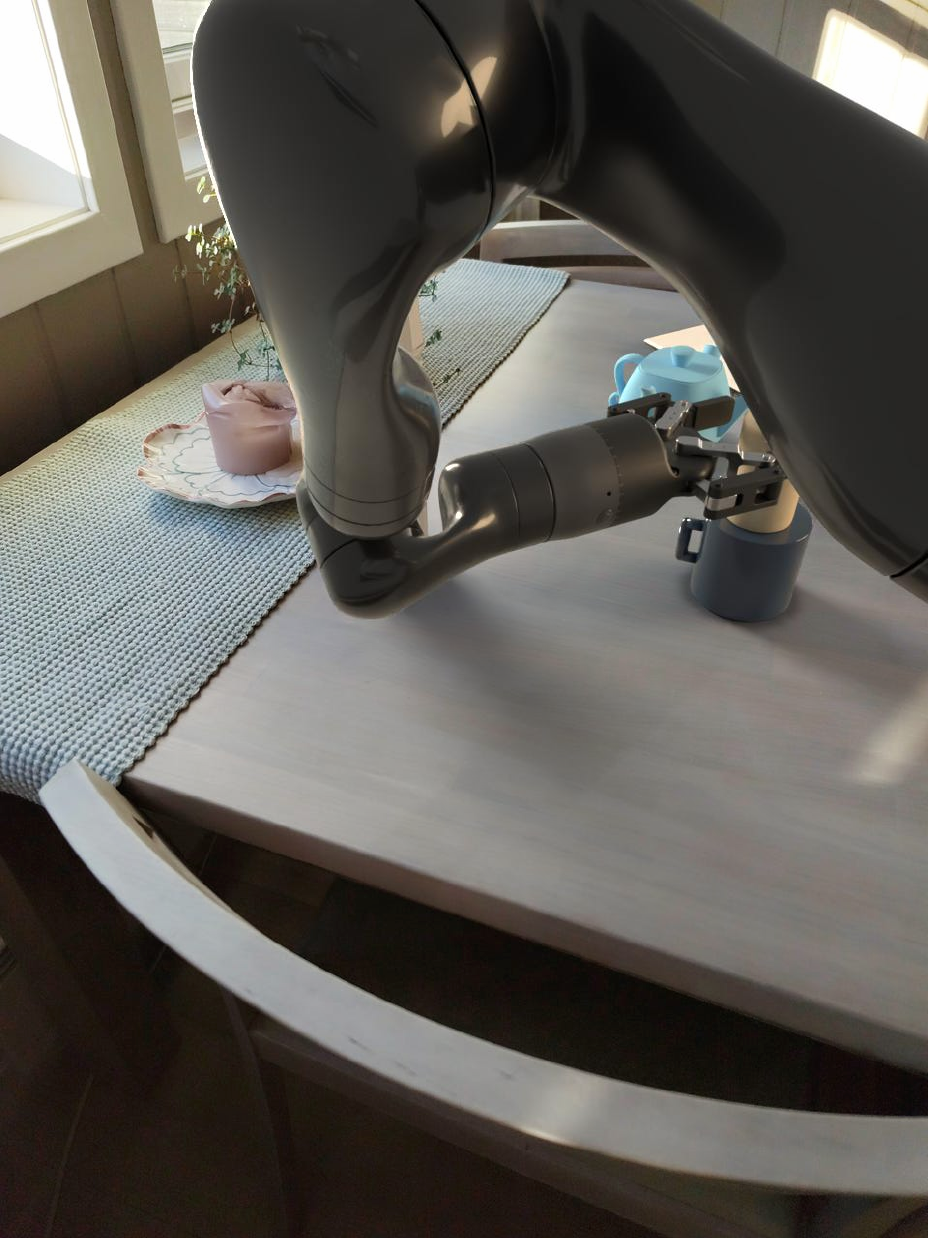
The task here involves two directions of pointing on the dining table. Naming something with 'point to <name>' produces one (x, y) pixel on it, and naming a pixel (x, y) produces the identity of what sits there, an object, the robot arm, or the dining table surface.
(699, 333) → the plate
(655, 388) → the teapot
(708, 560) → the mug
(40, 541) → the dining table surface
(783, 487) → the candle
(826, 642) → the dining table surface
